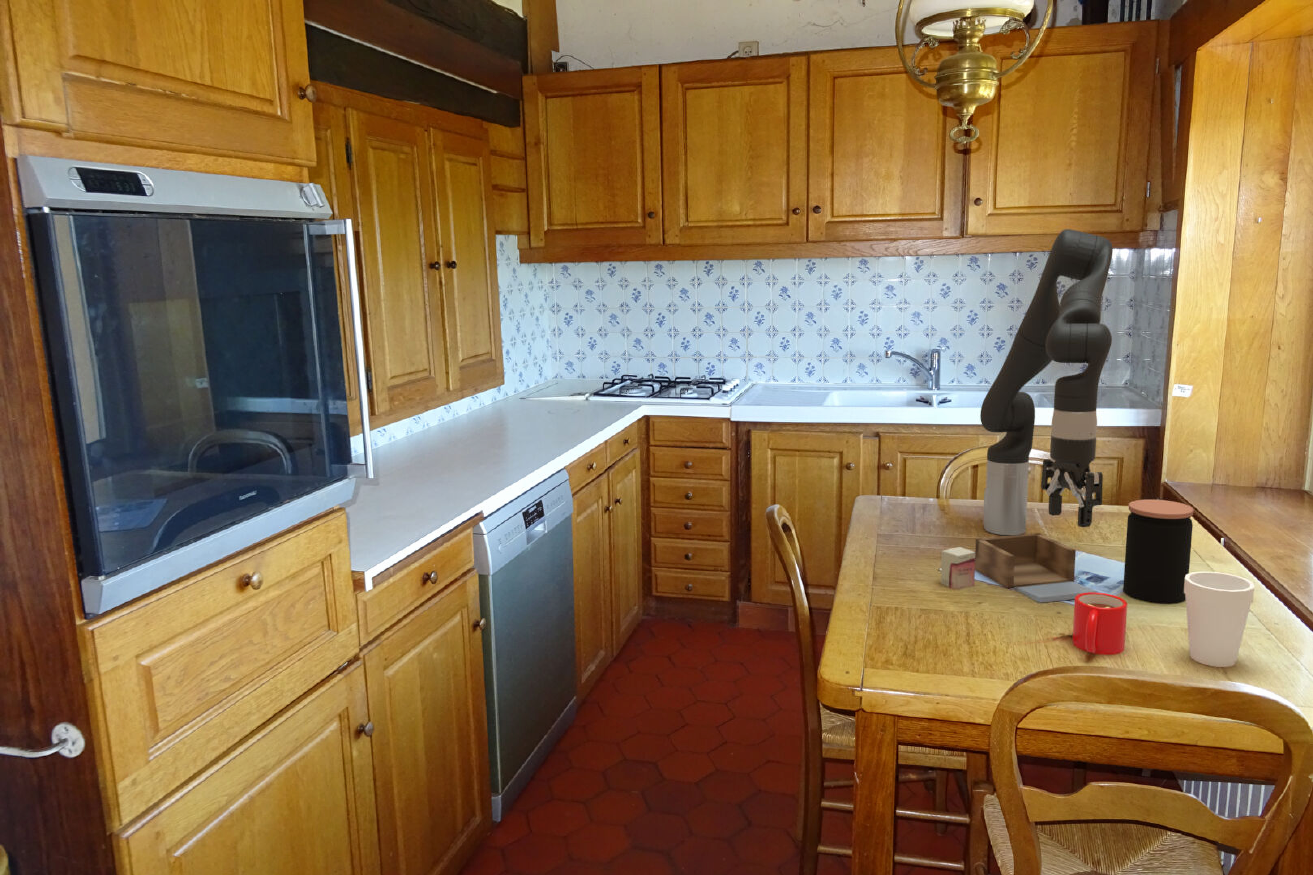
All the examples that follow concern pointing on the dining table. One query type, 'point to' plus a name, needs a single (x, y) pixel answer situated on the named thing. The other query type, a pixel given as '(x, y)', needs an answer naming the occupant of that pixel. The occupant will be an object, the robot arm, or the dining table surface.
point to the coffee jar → (1157, 551)
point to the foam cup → (1216, 615)
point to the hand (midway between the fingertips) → (1069, 520)
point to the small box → (958, 568)
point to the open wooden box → (1024, 560)
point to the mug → (1099, 623)
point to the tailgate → (1053, 591)
